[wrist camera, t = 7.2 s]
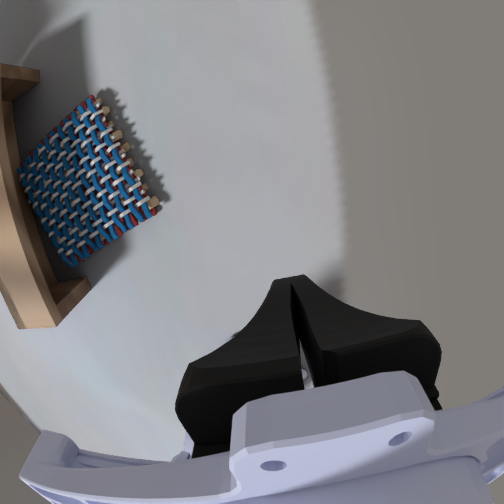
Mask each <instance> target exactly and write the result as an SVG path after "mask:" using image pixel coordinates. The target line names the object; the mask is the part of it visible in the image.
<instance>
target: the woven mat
mask: <svg viewBox="0 0 504 504" xmlns="http://www.w3.org/2000/svg"><path fill="white" fill-rule="evenodd" d="M102 103H103V101H102V99H101V98H100V97H99V98H98V99H96V100H95V98H94V96H93V95H90V96H89V97H88V99H87V104H86V102H82V103H81V104H80V106H79V107H77V108H75V109H74V110H73V112H72V113H71V115H67V116H66V118H65V119H64V120H62V121H61V122H60V124H59V125H58V126H57V127H55V128H54V129H53V130H52V131H51V132H50V133H48V134H47V135H46V136H47V137H46V138H45V139H43V140H42V141H41V143H39V144H38V146H37V147H38V148H37V150H36V149H34V150H33V151H31V152H30V153H29V154H30V155H29V156H27V158H26V161H25V160H24V162H22V163H21V164H20V166H19V167H18V168H17V170H16V171H17V172H18V174H19V175H20V179H19V182H20V181H21V183H22V185H23V186H24V187H25V188H26V189H25V191H24V192H25V193H27V191H28V197H29V201H28V202H29V203H31V202H32V203H33V206H32V208H33V209H34V208H35V212H36V214H37V215H38V216H40V219H41V225H42V223H43V228H44V230H45V231H47V232H48V233H49V234H48V236H49V237H50V236H51V239H52V243H53V245H54V246H55V247H56V248H57V249H58V254H59V253H60V257H61V259H62V260H63V261H64V262H65V263H67V264H68V265H69V267H70V268H73V267H74V266H76V265H78V261H77V260H76V258H77V259H78V260H79V261H81V262H83V261H84V259H85V258H88V257H89V256H90V255H92V254H93V253H95V251H98V250H99V249H101V248H103V247H104V245H108V244H109V242H111V241H113V240H115V239H117V238H118V236H121V235H122V234H123V232H127V231H128V230H131V229H132V228H134V227H135V226H137V225H138V222H137V220H136V218H137V219H138V220H139V222H144V221H145V220H146V219H147V218H148V219H149V218H150V217H152V216H155V215H156V214H157V211H156V207H155V206H157V205H158V204H160V202H159V199H158V198H157V197H156V196H154V197H152V198H150V197H149V196H148V195H147V194H146V193H145V191H147V190H148V187H147V185H146V183H144V184H143V185H142V184H141V182H140V181H139V180H140V177H141V176H142V175H143V174H144V173H143V171H142V170H141V169H136V170H135V171H133V170H132V169H131V168H130V167H132V166H133V164H134V162H133V160H132V158H128V159H126V158H125V155H126V154H125V153H126V152H127V151H128V150H130V149H131V147H130V145H129V144H128V142H126V143H125V144H123V145H122V146H121V147H120V142H119V139H121V138H122V137H123V136H122V131H120V130H117V131H115V132H114V131H113V129H112V128H113V127H114V124H113V122H112V121H110V122H109V123H107V121H106V119H105V117H106V116H107V115H108V114H109V112H110V109H109V107H108V106H103V107H102V109H101V110H100V108H99V106H100V105H101V104H102ZM91 113H92V114H91ZM98 128H99V129H98ZM90 133H91V134H90ZM103 136H104V139H103ZM59 141H60V142H59ZM96 145H97V146H96ZM110 151H112V153H111V152H110ZM20 167H21V168H20ZM108 167H109V170H108ZM26 176H27V177H26ZM114 180H115V181H114ZM138 181H139V182H138ZM130 186H131V187H130ZM46 188H47V189H46ZM50 197H51V198H50ZM113 197H114V198H115V199H114V198H113ZM70 199H71V201H70ZM137 200H138V201H139V202H138V201H137ZM124 206H125V207H124ZM39 208H40V209H39ZM75 208H76V210H75ZM95 211H96V213H95ZM52 214H53V216H52ZM48 223H49V224H48ZM50 227H51V228H50ZM122 231H123V232H122ZM82 236H83V239H82V238H81V237H82ZM58 240H59V241H58ZM57 241H58V242H57ZM101 241H104V245H103V243H102V242H101ZM60 244H61V245H60ZM88 251H89V252H90V253H89V252H88Z"/></svg>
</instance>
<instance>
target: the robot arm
mask: <svg viewBox="0 0 504 504" xmlns="http://www.w3.org/2000/svg"><path fill="white" fill-rule="evenodd" d="M299 339H300V341H299ZM300 342H301V345H302V348H303V351H304V355H305V358H306V361H307V364H308V367H309V371H310V374H311V377H312V381H313V385H314V388H311V389H305V390H304V383H303V380H304V379H305V378H306V377H307V372H306V371H305V370H303V369H301V358H300ZM441 353H442V351H441V348H440V344H439V343H438V341H437V340H436V339H435V337H434V336H433V334H432V333H431V332H430V331H429V329H428V328H427V327H426V326H425V325H424V324H423V323H422V322H421V321H420V320H407V319H395V318H390V317H385V316H380V315H376V314H372V313H369V312H365V311H362V310H359V309H357V308H354V307H352V306H350V305H348V304H345V303H343V302H341V301H339V300H338V299H336V298H334V297H333V296H331V295H329V294H328V293H327V292H325V291H324V290H322V289H321V288H320V287H319V286H317V285H316V284H315V283H314V282H313V281H311V280H310V279H309V278H308V277H307V276H306V275H298V276H293V277H287V278H282V279H276V280H274V281H273V282H272V285H271V288H270V290H269V292H268V294H267V296H266V298H265V300H264V302H263V303H262V305H261V307H260V308H259V310H258V311H257V313H256V314H255V316H254V317H253V318H252V319H251V321H250V322H249V323H248V324H247V325H246V326H245V327H244V328H243V329H242V330H241V331H240V332H239V333H238V334H237V335H235V336H233V337H231V338H230V339H229V340H228V342H227V343H225V344H224V345H222V346H221V347H219V348H218V349H216V350H215V351H213V352H211V353H210V354H208V355H206V356H204V357H202V358H200V359H198V360H196V361H194V362H191V363H189V365H188V367H187V369H186V372H185V374H184V376H183V379H182V381H181V385H180V388H179V392H178V395H177V399H176V402H175V411H176V414H177V416H178V419H179V420H180V422H181V423H182V425H183V427H184V428H185V430H186V435H185V440H184V451H182V452H180V454H178V455H177V456H175V457H173V459H172V461H171V462H165V461H153V460H143V459H134V458H126V457H120V456H113V455H107V454H102V453H96V452H91V451H86V450H82V449H79V448H78V446H77V445H76V444H75V443H74V441H73V440H71V439H70V438H69V437H67V436H66V435H63V434H60V433H56V432H52V431H48V430H43V431H42V433H41V434H40V436H39V438H38V440H37V442H36V443H35V445H34V447H33V449H32V451H31V453H30V455H29V456H28V458H27V460H26V462H25V464H24V467H23V468H22V470H21V472H20V474H19V477H20V479H21V480H23V481H24V482H25V483H26V484H27V485H29V486H30V487H31V488H32V489H34V490H35V491H36V492H38V493H39V494H40V495H42V496H43V497H44V498H46V499H47V500H48V501H50V502H51V503H52V504H495V501H494V499H493V497H492V494H491V492H490V490H489V487H488V485H487V484H489V483H490V482H492V481H493V480H495V479H496V478H497V477H499V476H500V475H502V474H503V473H504V387H502V388H500V389H498V390H497V391H495V392H493V393H491V394H489V395H487V396H485V397H484V398H482V399H480V400H478V401H476V402H474V403H472V404H470V405H465V406H461V407H455V408H450V409H444V410H443V409H442V407H441V405H440V403H439V402H438V400H437V398H438V397H439V392H438V390H437V389H436V387H435V385H434V384H435V380H436V377H437V373H438V369H439V366H440V361H441Z"/></svg>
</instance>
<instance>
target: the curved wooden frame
mask: <svg viewBox="0 0 504 504" xmlns="http://www.w3.org/2000/svg"><path fill="white" fill-rule="evenodd" d="M39 82H40V78H39V70H35V69H30V68H25V67H19V66H13V65H7V64H1V63H0V291H1V293H2V296H3V298H4V300H5V302H6V304H7V306H8V309H9V311H10V313H11V315H12V317H13V319H14V321H15V323H16V325H17V327H18V328H19V329H32V328H49V327H57V326H58V325H59V323H60V322H61V321H62V320H63V319H64V318H65V317H66V316H67V315H68V314H69V313H70V311H71V310H72V309H73V308H74V307H75V306H76V305H77V304H78V303H79V302H80V301H81V300H82V299H83V298H84V297H85V296H86V295H87V294H88V292H89V291H90V290H91V287H90V284H89V282H88V279H87V277H83V278H78V279H73V280H68V281H63V282H58V283H57V281H56V278H55V276H54V273H53V271H52V268H51V265H50V263H49V260H48V257H47V255H46V252H45V249H44V246H43V243H42V240H41V237H40V234H39V231H38V228H37V225H36V222H35V218H34V215H33V211H32V208H31V204H30V203H29V202H28V201H29V197H28V193H25V192H24V191H25V189H26V188H25V187H24V186H23V185H22V183H21V181H20V182H19V179H20V175H19V174H18V172H17V171H16V170H17V168H18V167H19V166H20V164H21V161H20V156H19V150H18V145H17V138H16V131H15V124H14V115H13V105H12V101H13V100H14V99H16V98H17V97H18V96H20V95H21V94H23V93H24V92H26V91H27V90H28V89H30V88H31V87H33V86H34V85H36V84H37V83H39ZM20 168H21V167H20Z"/></svg>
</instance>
